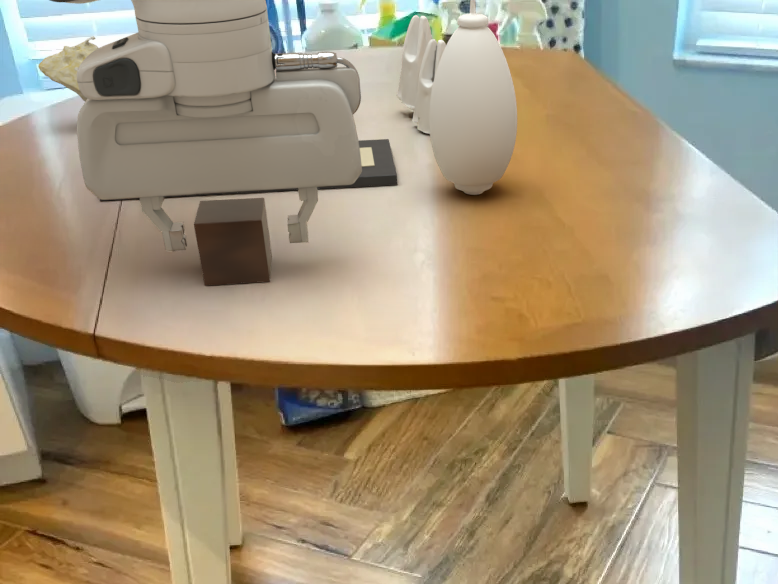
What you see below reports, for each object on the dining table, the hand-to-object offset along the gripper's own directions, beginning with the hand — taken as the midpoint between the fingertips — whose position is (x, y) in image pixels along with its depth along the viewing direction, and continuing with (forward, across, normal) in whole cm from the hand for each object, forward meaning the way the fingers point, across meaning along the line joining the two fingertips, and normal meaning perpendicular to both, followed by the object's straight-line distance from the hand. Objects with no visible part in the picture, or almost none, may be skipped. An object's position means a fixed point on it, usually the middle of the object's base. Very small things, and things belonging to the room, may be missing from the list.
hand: (238, 244), depth 75 cm
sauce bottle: (+2, -21, -15) cm, 26 cm away
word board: (+2, 0, -24) cm, 24 cm away
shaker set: (+2, -19, -39) cm, 44 cm away
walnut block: (+2, 0, 0) cm, 2 cm away
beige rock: (+2, +15, -43) cm, 46 cm away
